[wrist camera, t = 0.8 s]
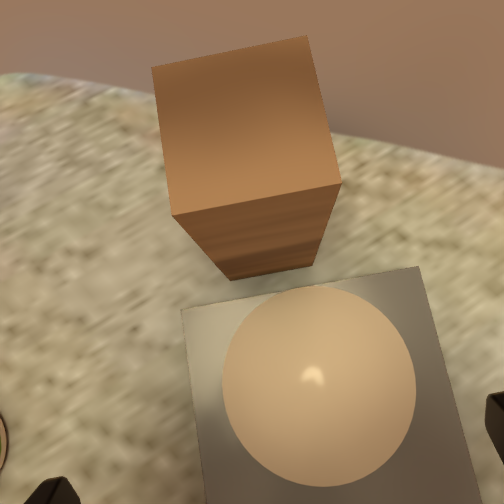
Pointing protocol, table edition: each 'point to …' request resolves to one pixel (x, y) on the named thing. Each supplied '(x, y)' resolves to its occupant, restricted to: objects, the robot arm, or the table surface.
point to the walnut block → (249, 155)
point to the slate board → (327, 397)
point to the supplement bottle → (2, 443)
